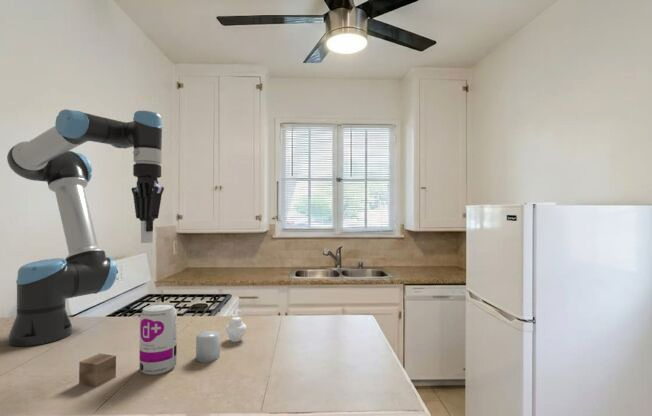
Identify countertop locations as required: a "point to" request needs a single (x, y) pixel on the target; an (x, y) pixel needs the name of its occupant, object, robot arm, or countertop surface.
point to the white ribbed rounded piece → (236, 329)
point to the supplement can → (158, 339)
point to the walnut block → (97, 370)
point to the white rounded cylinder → (207, 346)
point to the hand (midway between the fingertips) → (146, 242)
